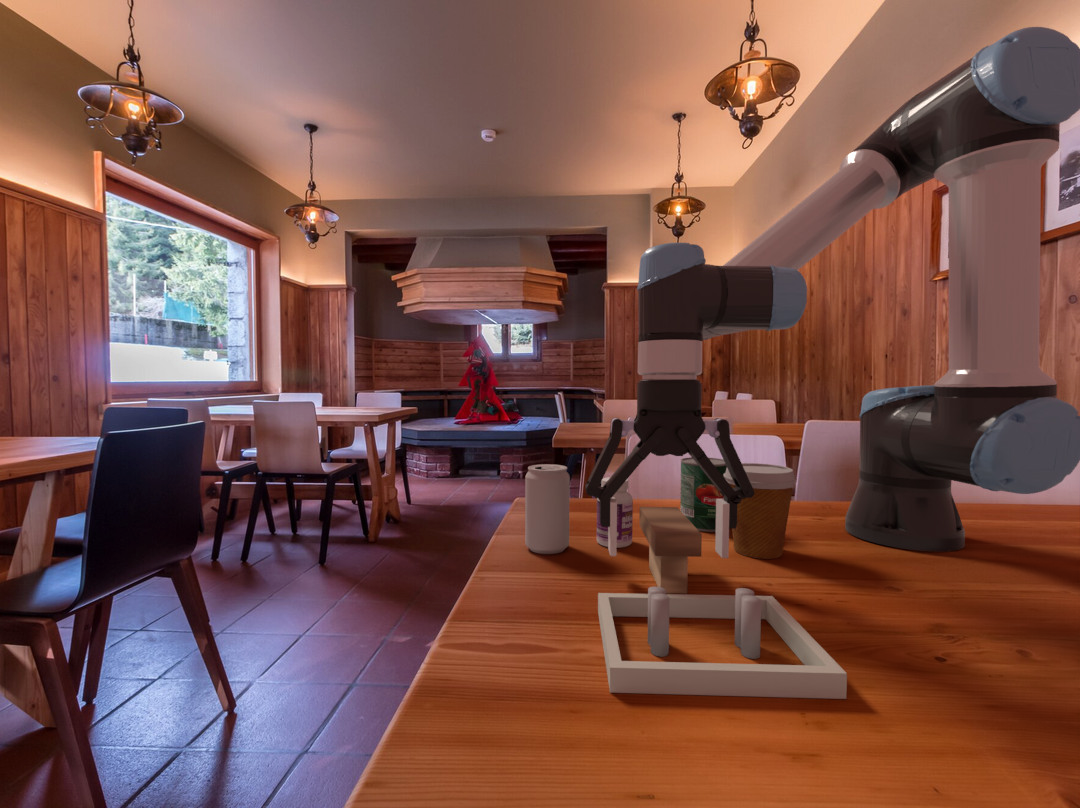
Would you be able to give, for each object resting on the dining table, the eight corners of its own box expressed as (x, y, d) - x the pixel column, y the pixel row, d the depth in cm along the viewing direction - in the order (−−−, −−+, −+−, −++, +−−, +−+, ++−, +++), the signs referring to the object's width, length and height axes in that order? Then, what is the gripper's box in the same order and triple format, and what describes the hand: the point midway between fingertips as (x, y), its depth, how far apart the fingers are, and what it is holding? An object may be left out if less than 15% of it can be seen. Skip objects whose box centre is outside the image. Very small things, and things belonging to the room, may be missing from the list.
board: (639, 525, 68) (639, 506, 68) (677, 525, 68) (677, 507, 68) (655, 556, 56) (655, 533, 56) (701, 556, 56) (701, 534, 56)
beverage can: (524, 542, 77) (523, 463, 76) (566, 541, 78) (566, 462, 77) (526, 556, 71) (526, 470, 70) (572, 555, 71) (572, 470, 71)
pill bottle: (630, 550, 73) (630, 483, 73) (593, 546, 75) (593, 481, 74) (634, 539, 78) (634, 476, 78) (600, 536, 80) (600, 475, 79)
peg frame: (771, 614, 53) (772, 567, 53) (846, 699, 39) (848, 635, 39) (598, 611, 54) (598, 564, 54) (609, 692, 40) (610, 629, 40)
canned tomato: (693, 516, 91) (694, 455, 91) (737, 525, 86) (738, 460, 85) (671, 525, 86) (671, 460, 85) (715, 535, 80) (717, 466, 80)
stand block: (672, 567, 66) (672, 529, 66) (687, 593, 58) (687, 550, 58) (649, 567, 66) (649, 529, 66) (660, 593, 58) (661, 550, 58)
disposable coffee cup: (804, 565, 67) (806, 475, 66) (727, 560, 69) (729, 472, 68) (784, 543, 76) (786, 463, 76) (717, 539, 78) (719, 461, 78)
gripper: (761, 378, 64) (757, 545, 65) (566, 377, 66) (565, 541, 67) (787, 378, 57) (782, 566, 58) (566, 377, 58) (565, 562, 59)
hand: (666, 553), depth 62 cm, fingers open, 12 cm apart
